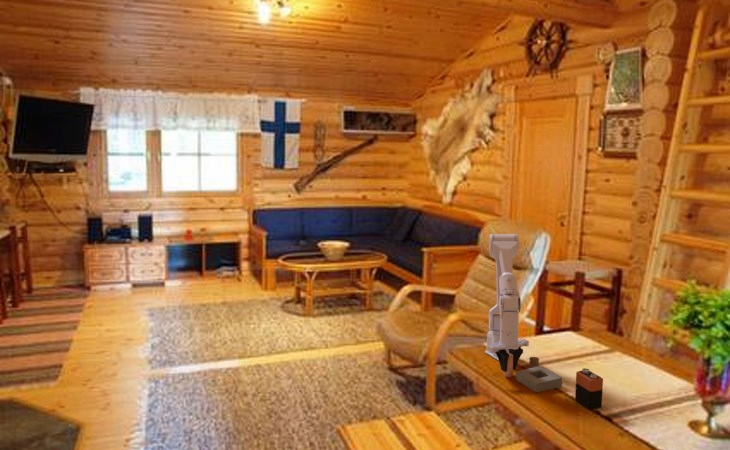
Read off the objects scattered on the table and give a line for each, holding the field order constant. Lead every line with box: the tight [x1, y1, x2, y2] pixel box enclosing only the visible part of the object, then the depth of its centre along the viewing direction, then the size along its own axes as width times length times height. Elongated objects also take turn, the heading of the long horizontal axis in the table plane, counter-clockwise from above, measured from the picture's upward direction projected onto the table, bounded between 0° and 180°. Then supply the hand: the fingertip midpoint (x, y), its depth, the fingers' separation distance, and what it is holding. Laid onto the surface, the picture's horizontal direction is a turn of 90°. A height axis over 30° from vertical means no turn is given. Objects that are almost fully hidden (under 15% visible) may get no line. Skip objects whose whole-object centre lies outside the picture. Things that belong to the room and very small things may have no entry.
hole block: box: [515, 365, 563, 393], centre depth 177 cm, size 10×10×3 cm
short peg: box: [528, 356, 540, 369], centre depth 187 cm, size 3×3×4 cm
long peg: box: [503, 353, 514, 378], centre depth 183 cm, size 3×3×7 cm
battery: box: [574, 367, 604, 411], centre depth 162 cm, size 4×7×10 cm, turn 17°
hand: (508, 369), depth 183 cm, fingers closed on long peg, 3 cm apart
